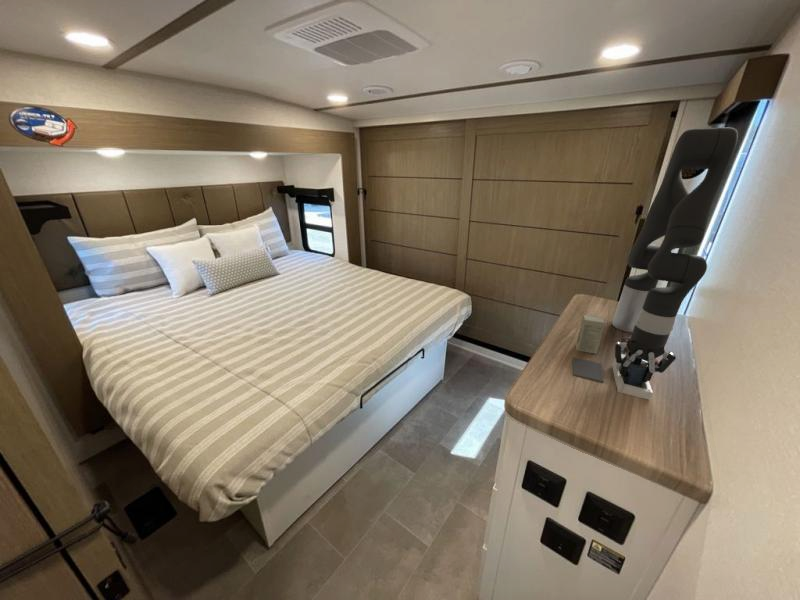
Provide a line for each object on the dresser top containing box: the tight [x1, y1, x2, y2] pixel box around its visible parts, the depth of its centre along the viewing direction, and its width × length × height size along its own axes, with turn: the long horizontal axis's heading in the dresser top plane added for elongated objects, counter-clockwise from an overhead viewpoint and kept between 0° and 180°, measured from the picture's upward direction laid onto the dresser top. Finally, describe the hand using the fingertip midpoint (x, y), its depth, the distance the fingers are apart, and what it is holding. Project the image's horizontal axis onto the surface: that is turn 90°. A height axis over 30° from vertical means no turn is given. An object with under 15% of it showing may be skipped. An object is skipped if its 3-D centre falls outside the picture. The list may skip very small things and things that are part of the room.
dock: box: [611, 351, 654, 401], centre depth 94 cm, size 24×8×5 cm, turn 153°
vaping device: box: [622, 355, 648, 388], centre depth 87 cm, size 3×5×12 cm, turn 95°
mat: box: [572, 356, 605, 383], centre depth 96 cm, size 10×8×1 cm
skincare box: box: [575, 314, 606, 355], centre depth 104 cm, size 6×4×12 cm
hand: (633, 377), depth 88 cm, fingers closed on vaping device, 4 cm apart
